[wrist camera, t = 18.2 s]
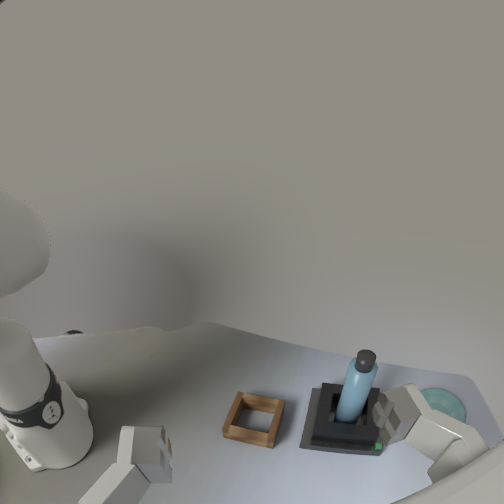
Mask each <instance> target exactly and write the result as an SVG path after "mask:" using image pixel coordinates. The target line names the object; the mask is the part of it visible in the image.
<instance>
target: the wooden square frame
mask: <svg viewBox="0 0 504 504" xmlns="http://www.w3.org/2000/svg"><path fill="white" fill-rule="evenodd" d="M284 406H285V401H284V400H278V399H272V398H267V397H262V396H257V395H252V394H247V393H242V392H238V393H237V396H236V398H235V400H234V402H233V405H232V407H231V409H230V412H229V414H228V416H227V418H226V421H225V423H224V425H223V427H222V430H223V436H224V437H225V438H228V439H232V440H236V441H240V442H245V443H249V444H253V445H258V446H263V447H268V448H273V446H274V443H275V440H276V436H277V433H278V430H279V426H280V423H281V419H282V416H283V412H284ZM243 407H244V408H249V409H253V410H258V411H263V412H268V413H273V414H275V415H274V418H273V421H272V424H271V427H270V430H269V433H264V432H259V431H255V430H250V429H246V428H241V427H237V426H235V425H236V423H237V420H238V418H239V415H240V413H241V410H242V408H243Z"/></svg>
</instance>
